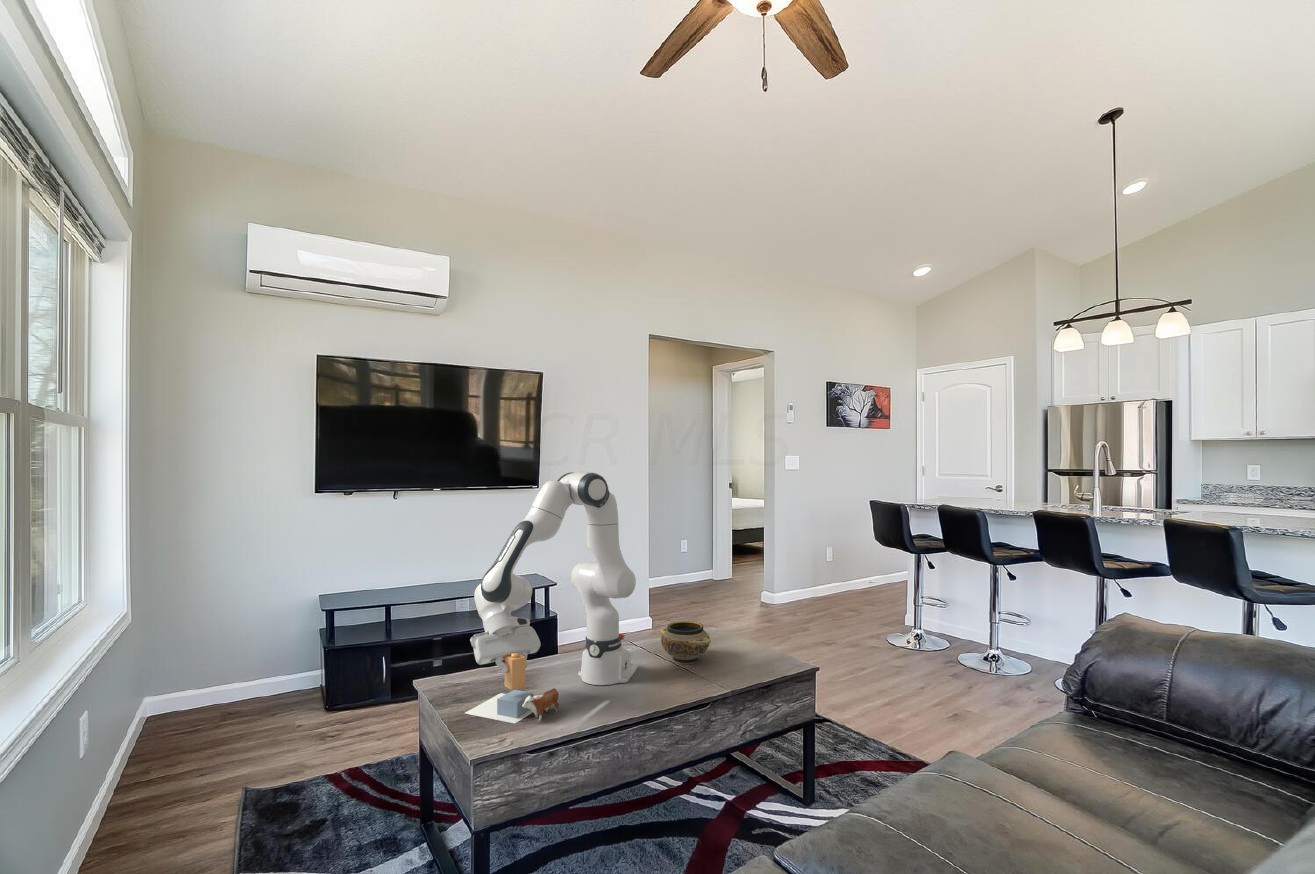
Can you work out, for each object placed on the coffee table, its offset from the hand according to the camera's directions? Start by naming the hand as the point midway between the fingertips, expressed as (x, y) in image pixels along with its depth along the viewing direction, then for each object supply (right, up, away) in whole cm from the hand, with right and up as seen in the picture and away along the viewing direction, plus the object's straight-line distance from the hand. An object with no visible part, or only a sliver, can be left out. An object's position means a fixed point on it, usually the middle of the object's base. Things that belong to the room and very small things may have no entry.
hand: (516, 669), depth 188 cm
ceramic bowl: (+52, -15, +49) cm, 73 cm away
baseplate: (-3, -13, +3) cm, 14 cm away
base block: (0, -12, 0) cm, 12 cm away
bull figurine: (+8, -13, -3) cm, 16 cm away
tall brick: (0, -5, 0) cm, 5 cm away
